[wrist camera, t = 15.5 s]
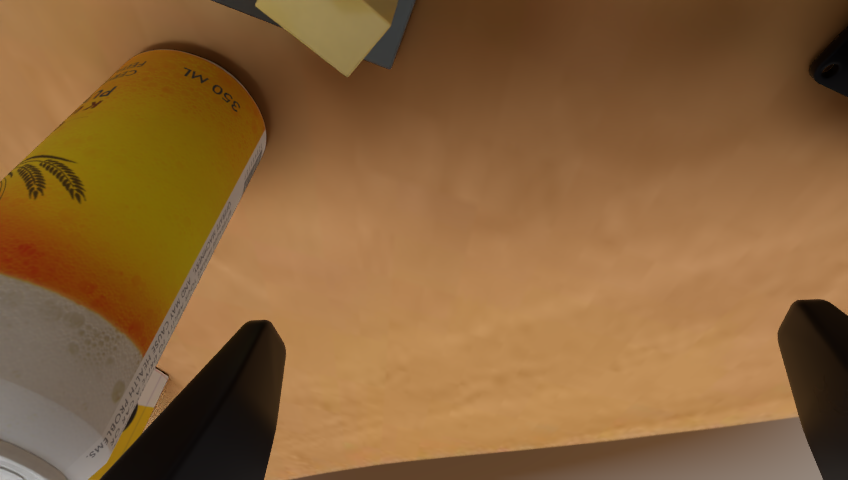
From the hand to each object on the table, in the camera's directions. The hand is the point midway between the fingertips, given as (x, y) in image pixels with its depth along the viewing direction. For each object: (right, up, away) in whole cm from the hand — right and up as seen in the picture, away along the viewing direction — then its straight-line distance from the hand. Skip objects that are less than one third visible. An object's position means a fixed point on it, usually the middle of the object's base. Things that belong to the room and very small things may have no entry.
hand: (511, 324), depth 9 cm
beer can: (-11, +7, +13) cm, 18 cm away
